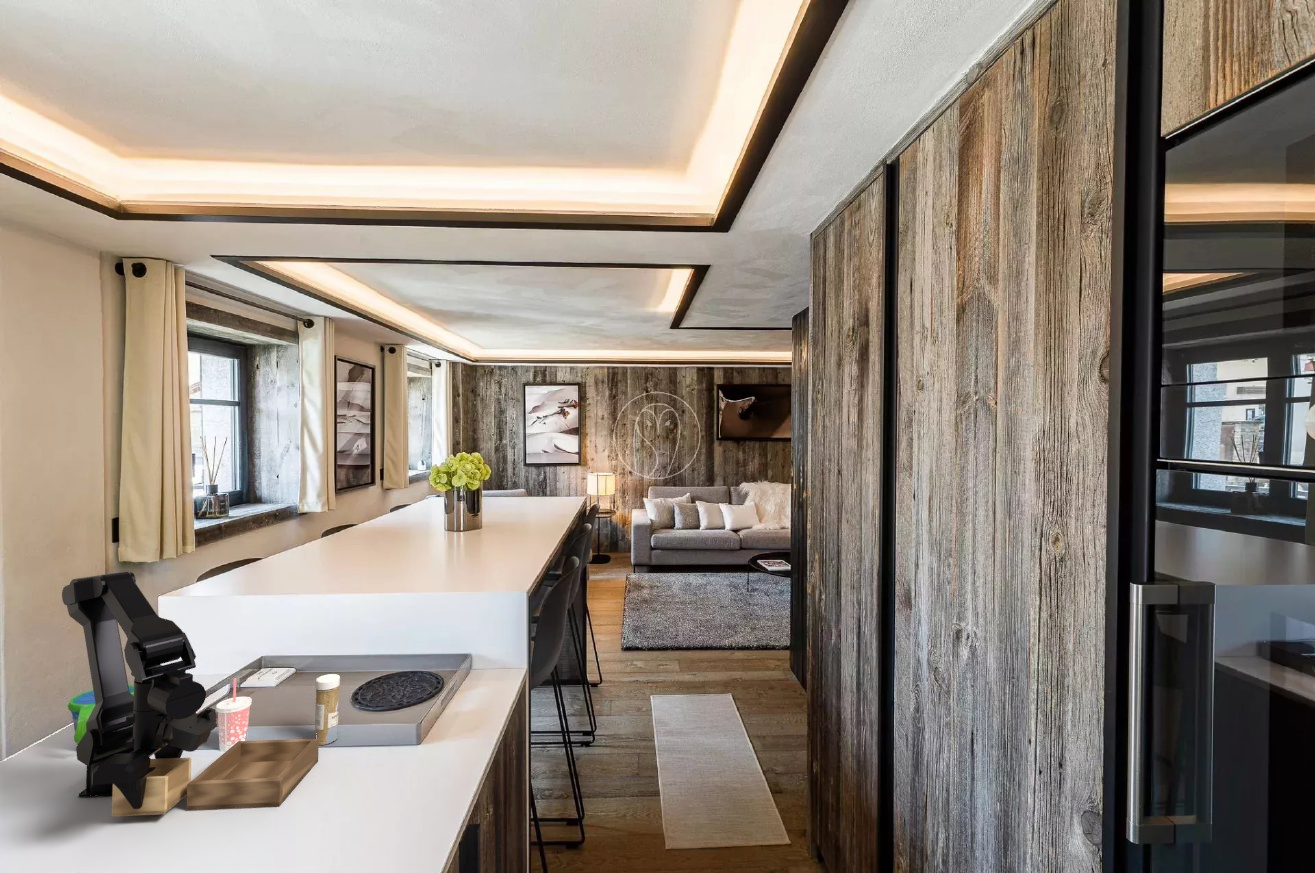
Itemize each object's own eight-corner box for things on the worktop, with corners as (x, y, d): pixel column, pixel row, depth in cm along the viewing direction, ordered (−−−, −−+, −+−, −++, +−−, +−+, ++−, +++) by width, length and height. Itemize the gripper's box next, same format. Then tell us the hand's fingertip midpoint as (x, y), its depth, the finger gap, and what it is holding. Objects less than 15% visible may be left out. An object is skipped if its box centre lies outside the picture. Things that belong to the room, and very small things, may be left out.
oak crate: (111, 816, 99) (112, 779, 99) (141, 793, 105) (142, 759, 105) (164, 814, 100) (165, 777, 100) (190, 791, 106) (191, 757, 106)
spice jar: (339, 742, 127) (341, 678, 127) (314, 747, 125) (316, 683, 125) (337, 733, 131) (338, 671, 131) (313, 738, 129) (314, 675, 129)
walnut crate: (186, 810, 103) (187, 784, 103) (237, 763, 118) (238, 740, 118) (279, 806, 105) (280, 780, 105) (318, 761, 120) (318, 738, 120)
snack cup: (98, 727, 132) (100, 681, 132) (154, 723, 134) (155, 678, 134) (43, 765, 116) (44, 712, 116) (107, 760, 119) (108, 708, 119)
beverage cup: (257, 738, 128) (259, 672, 128) (238, 753, 122) (240, 684, 122) (228, 738, 128) (229, 672, 128) (207, 753, 122) (209, 684, 122)
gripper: (168, 728, 94) (165, 828, 94) (237, 681, 113) (235, 765, 113) (90, 731, 93) (87, 832, 93) (173, 683, 112) (171, 767, 112)
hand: (152, 796), depth 103 cm, fingers closed on oak crate, 6 cm apart
